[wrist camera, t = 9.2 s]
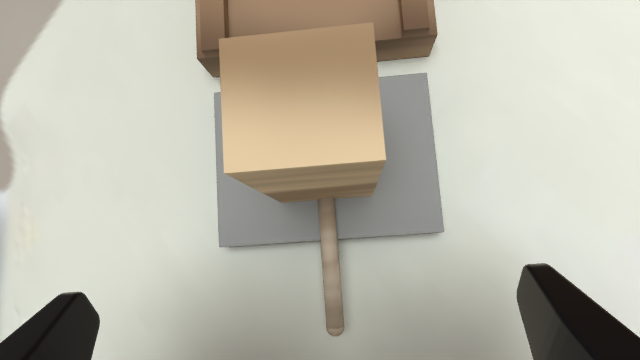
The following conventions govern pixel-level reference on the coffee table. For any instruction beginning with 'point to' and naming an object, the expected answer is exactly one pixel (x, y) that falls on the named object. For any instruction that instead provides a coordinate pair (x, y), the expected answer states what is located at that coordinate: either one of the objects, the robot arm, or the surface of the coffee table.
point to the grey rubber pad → (356, 212)
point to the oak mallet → (305, 125)
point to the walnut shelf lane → (317, 23)
